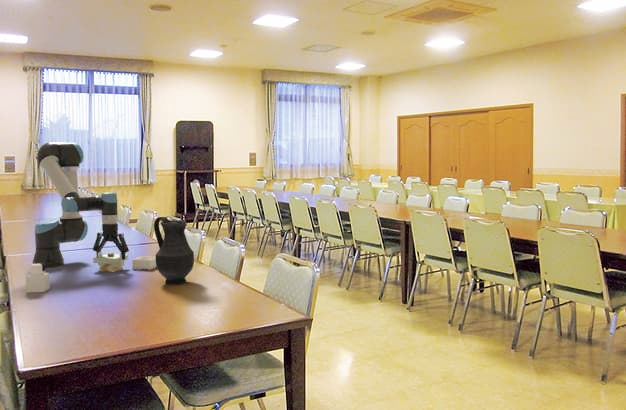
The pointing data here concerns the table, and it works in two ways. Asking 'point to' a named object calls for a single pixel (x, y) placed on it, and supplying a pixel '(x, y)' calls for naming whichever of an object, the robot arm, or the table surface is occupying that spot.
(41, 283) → the medicine bottle
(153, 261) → the dish
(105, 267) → the stand
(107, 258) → the lid
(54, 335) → the table surface
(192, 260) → the pitcher
